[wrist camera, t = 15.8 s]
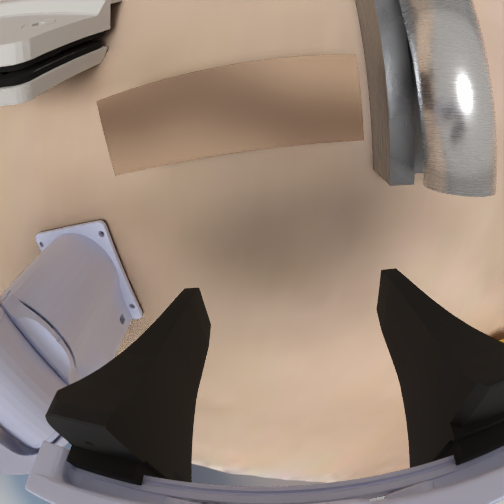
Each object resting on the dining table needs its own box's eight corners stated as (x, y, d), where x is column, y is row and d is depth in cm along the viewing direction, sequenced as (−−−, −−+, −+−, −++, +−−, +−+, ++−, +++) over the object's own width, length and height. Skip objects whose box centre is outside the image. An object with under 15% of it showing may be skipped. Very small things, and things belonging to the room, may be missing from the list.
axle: (473, 179, 14) (509, 197, 10) (413, 179, 15) (440, 197, 11) (453, 12, 10) (484, -9, 6) (389, 3, 11) (409, -25, 7)
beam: (340, 124, 17) (364, 140, 13) (150, 151, 18) (115, 175, 14) (333, 61, 15) (355, 54, 11) (137, 93, 16) (96, 101, 12)
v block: (450, 166, 17) (474, 182, 15) (373, 169, 18) (390, 185, 15) (438, -1, 11) (462, -9, 9) (352, -12, 12) (367, -27, 9)
